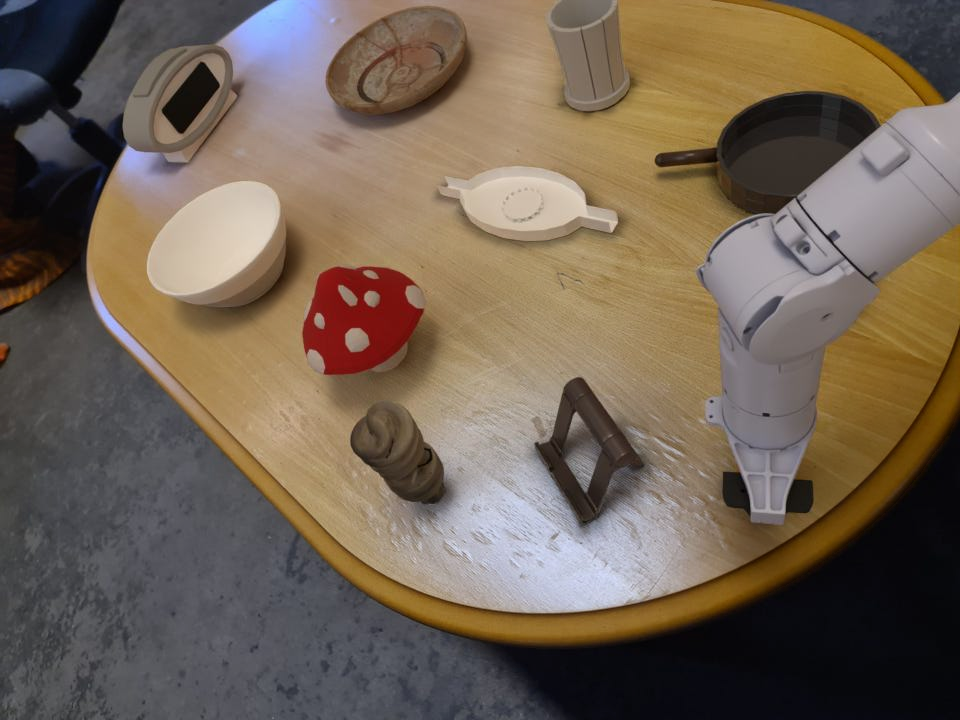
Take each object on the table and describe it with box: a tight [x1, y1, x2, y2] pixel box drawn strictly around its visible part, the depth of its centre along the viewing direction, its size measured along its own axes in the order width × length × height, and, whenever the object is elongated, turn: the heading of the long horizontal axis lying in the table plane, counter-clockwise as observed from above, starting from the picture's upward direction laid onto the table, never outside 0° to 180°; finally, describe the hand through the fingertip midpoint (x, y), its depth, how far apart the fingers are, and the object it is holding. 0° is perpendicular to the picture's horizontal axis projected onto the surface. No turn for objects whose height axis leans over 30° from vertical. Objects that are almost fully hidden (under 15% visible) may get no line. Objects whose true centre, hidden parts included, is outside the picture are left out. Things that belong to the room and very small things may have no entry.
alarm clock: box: [122, 43, 238, 163], centre depth 116 cm, size 23×6×13 cm, turn 158°
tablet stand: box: [533, 376, 645, 525], centre depth 61 cm, size 9×8×8 cm
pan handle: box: [654, 147, 725, 168], centre depth 79 cm, size 8×2×2 cm, turn 78°
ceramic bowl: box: [324, 5, 468, 115], centre depth 108 cm, size 23×24×5 cm
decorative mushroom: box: [301, 263, 427, 376], centre depth 74 cm, size 14×14×15 cm
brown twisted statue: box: [349, 399, 447, 505], centre depth 62 cm, size 6×6×15 cm
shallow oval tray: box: [436, 165, 619, 242], centre depth 85 cm, size 10×25×2 cm, turn 58°
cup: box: [545, 0, 631, 112], centre depth 90 cm, size 10×9×12 cm
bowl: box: [146, 180, 287, 308], centre depth 92 cm, size 19×20×8 cm
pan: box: [716, 90, 882, 215], centre depth 75 cm, size 16×16×4 cm
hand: (764, 467), depth 54 cm, fingers open, 7 cm apart
